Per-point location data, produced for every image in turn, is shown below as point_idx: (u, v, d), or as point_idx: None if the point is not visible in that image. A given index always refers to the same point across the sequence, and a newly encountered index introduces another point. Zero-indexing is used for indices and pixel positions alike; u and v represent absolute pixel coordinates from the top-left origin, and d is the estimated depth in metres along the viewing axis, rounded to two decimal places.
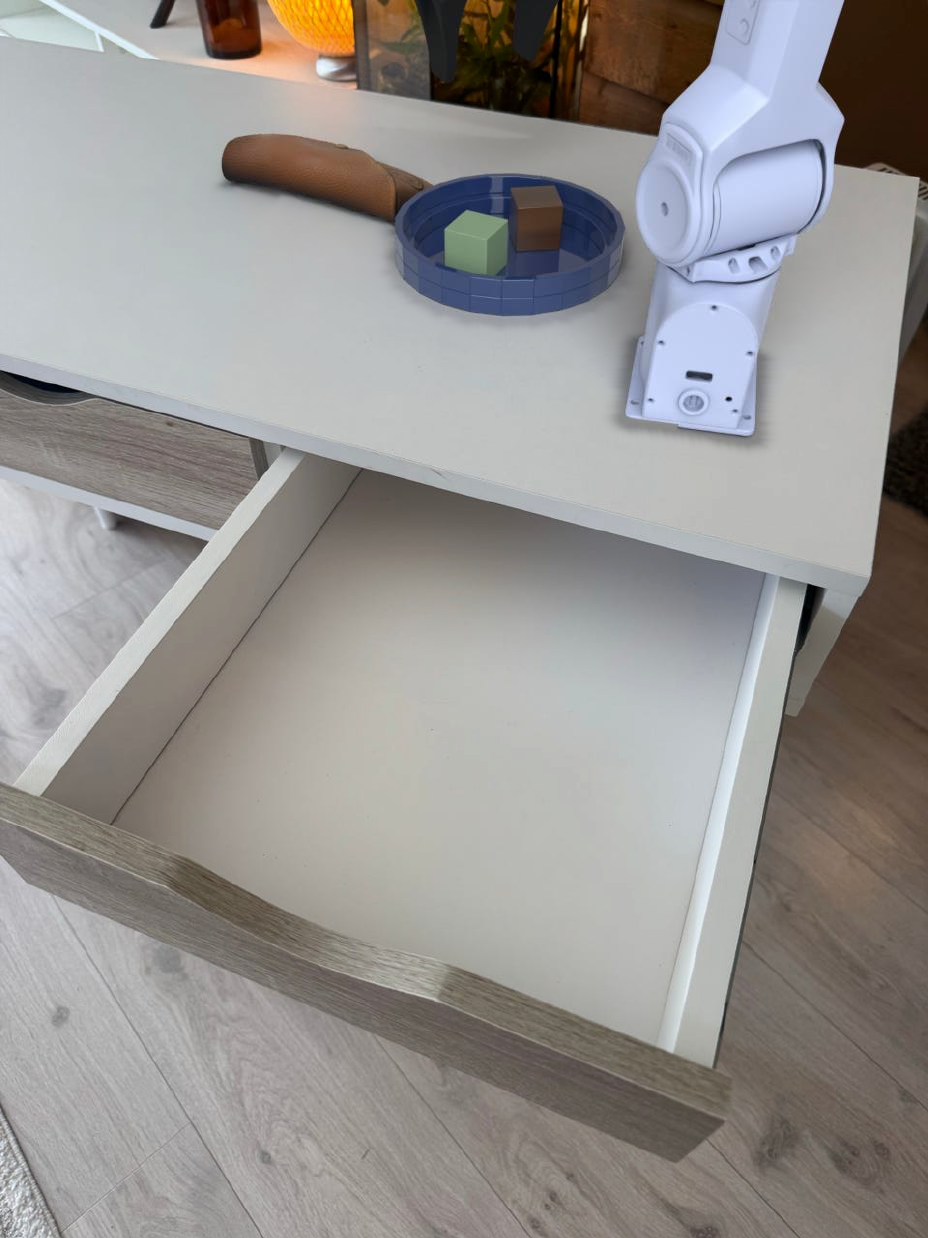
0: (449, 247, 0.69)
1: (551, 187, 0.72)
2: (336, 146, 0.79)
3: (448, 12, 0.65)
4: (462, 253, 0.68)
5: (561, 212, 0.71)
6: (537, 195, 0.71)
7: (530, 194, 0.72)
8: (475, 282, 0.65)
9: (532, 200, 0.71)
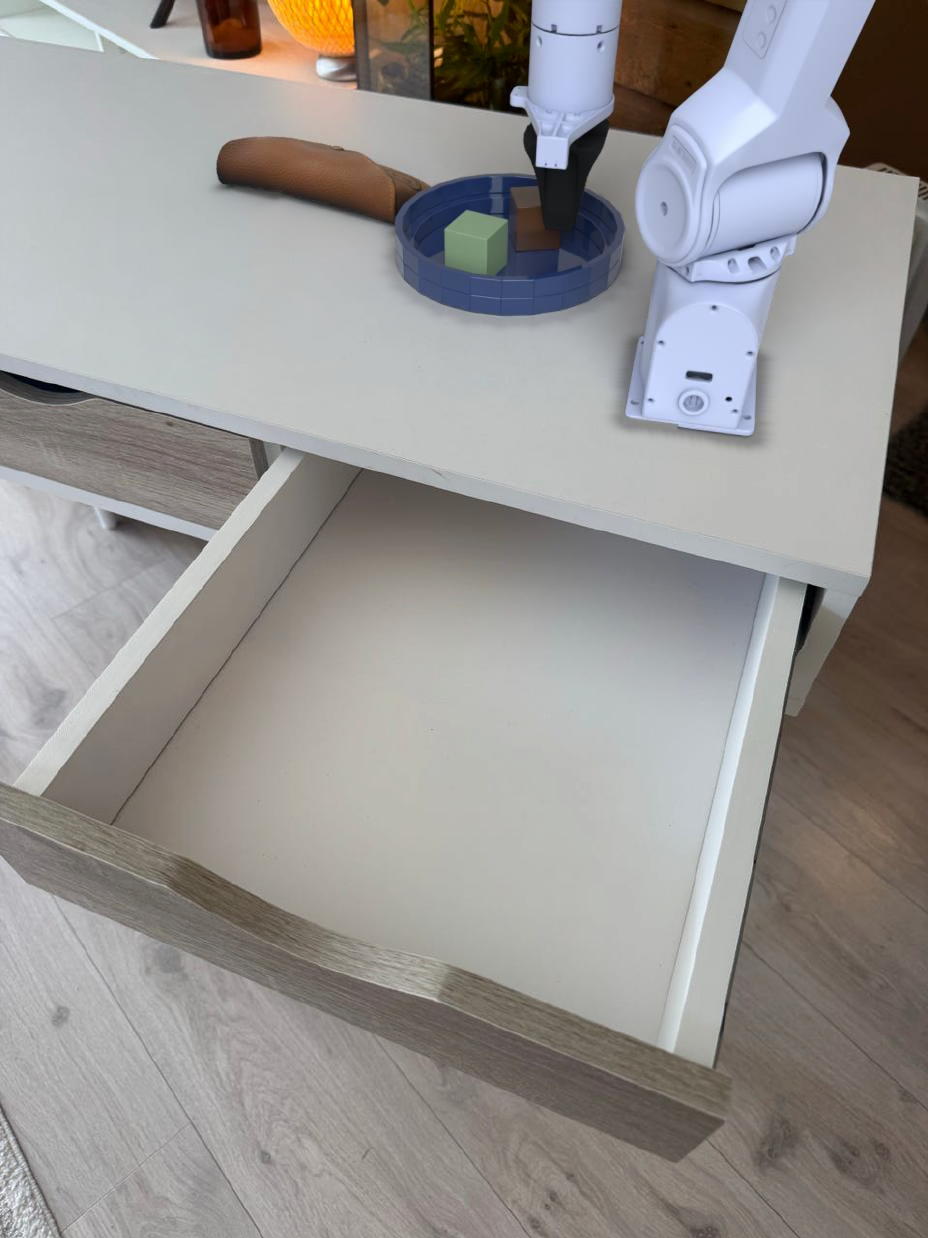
0: (449, 247, 0.69)
1: None
2: (332, 148, 0.79)
3: None
4: (462, 253, 0.68)
5: None
6: (536, 194, 0.71)
7: (529, 193, 0.72)
8: (475, 282, 0.65)
9: (532, 200, 0.71)
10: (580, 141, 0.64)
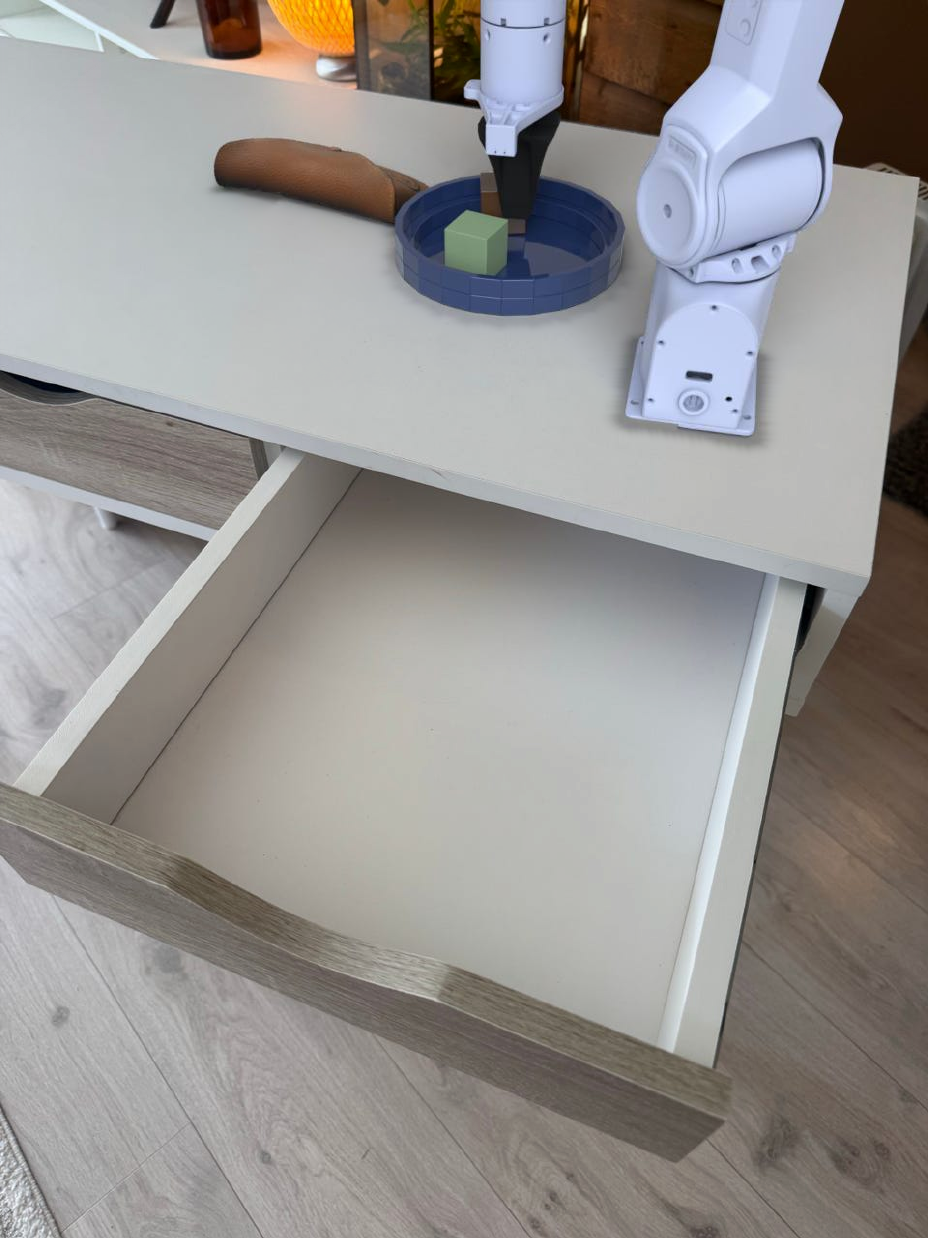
0: (449, 247, 0.69)
1: None
2: (330, 149, 0.79)
3: (545, 152, 0.68)
4: (462, 253, 0.68)
5: None
6: None
7: None
8: (475, 282, 0.65)
9: None
10: (532, 130, 0.67)
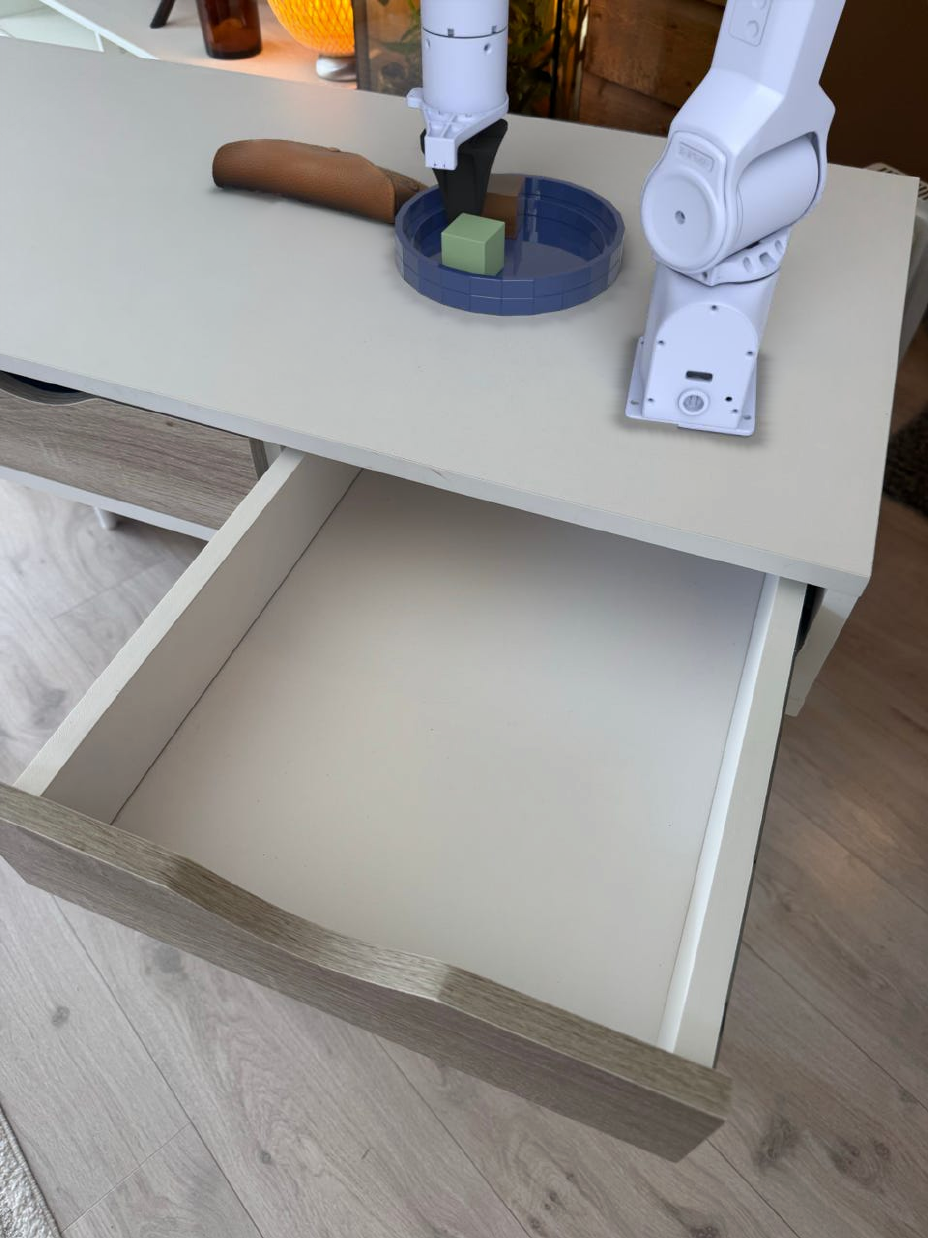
0: (446, 250, 0.68)
1: (520, 177, 0.73)
2: (328, 149, 0.78)
3: (490, 164, 0.66)
4: (459, 257, 0.68)
5: (515, 202, 0.72)
6: (501, 182, 0.73)
7: (495, 180, 0.73)
8: (475, 282, 0.65)
9: (492, 186, 0.72)
10: (475, 142, 0.65)
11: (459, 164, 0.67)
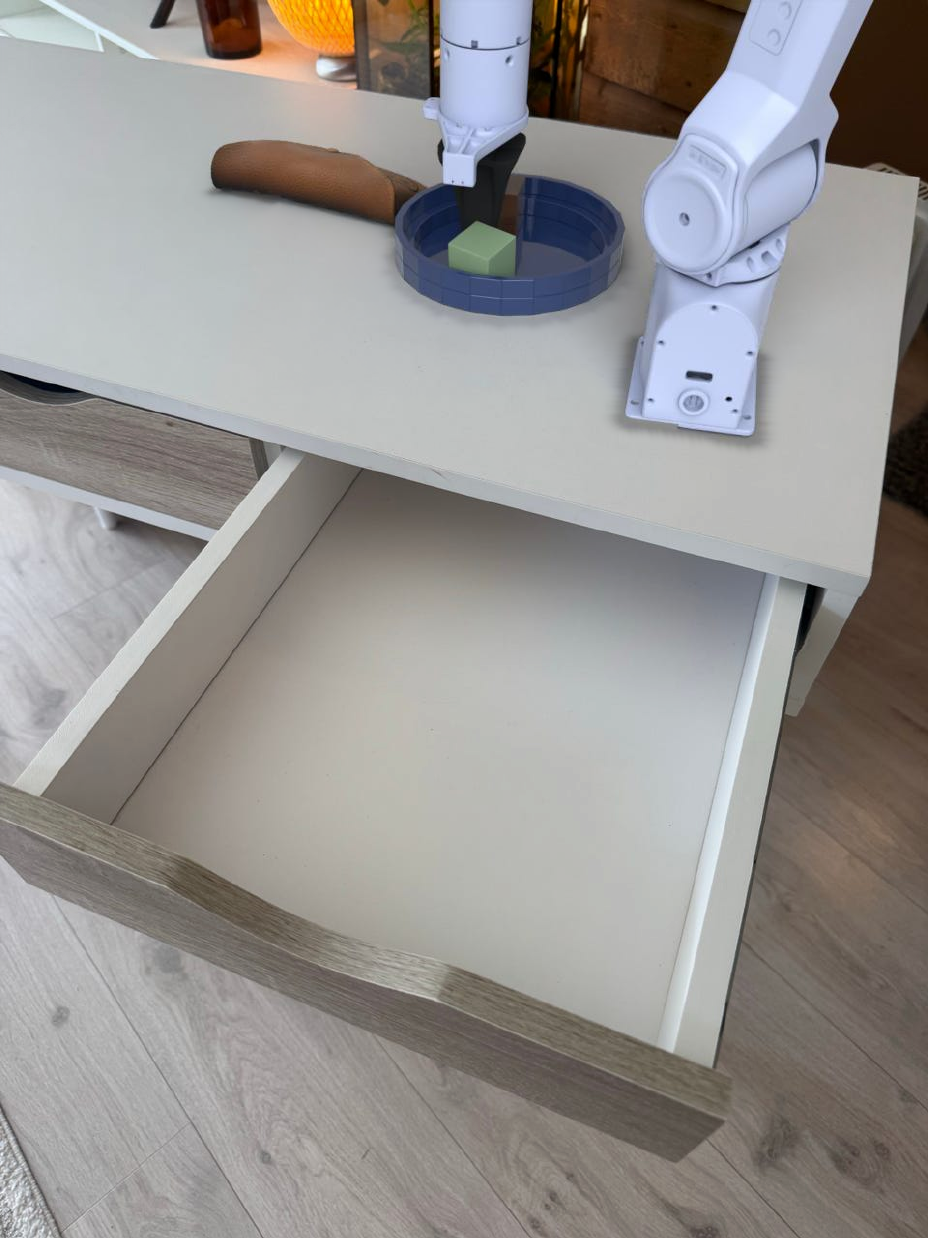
0: (452, 261, 0.67)
1: (520, 177, 0.73)
2: (327, 150, 0.78)
3: None
4: (465, 269, 0.67)
5: (515, 202, 0.72)
6: None
7: None
8: (475, 282, 0.65)
9: None
10: (495, 154, 0.63)
11: (477, 175, 0.65)
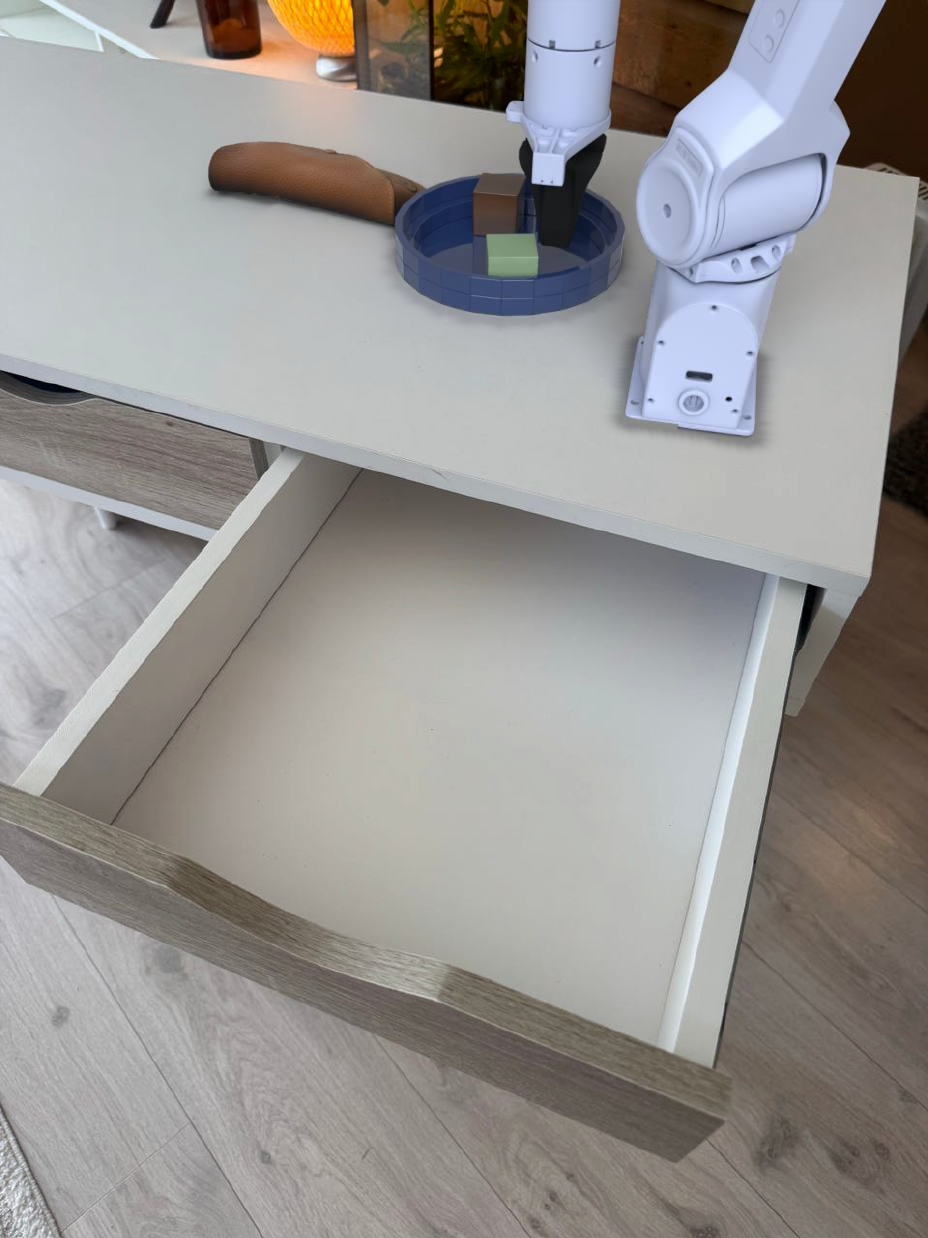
0: (486, 253, 0.68)
1: (520, 177, 0.73)
2: (325, 151, 0.78)
3: None
4: None
5: (515, 202, 0.72)
6: (501, 182, 0.73)
7: (495, 180, 0.73)
8: (475, 282, 0.65)
9: (492, 186, 0.72)
10: (576, 157, 0.63)
11: None
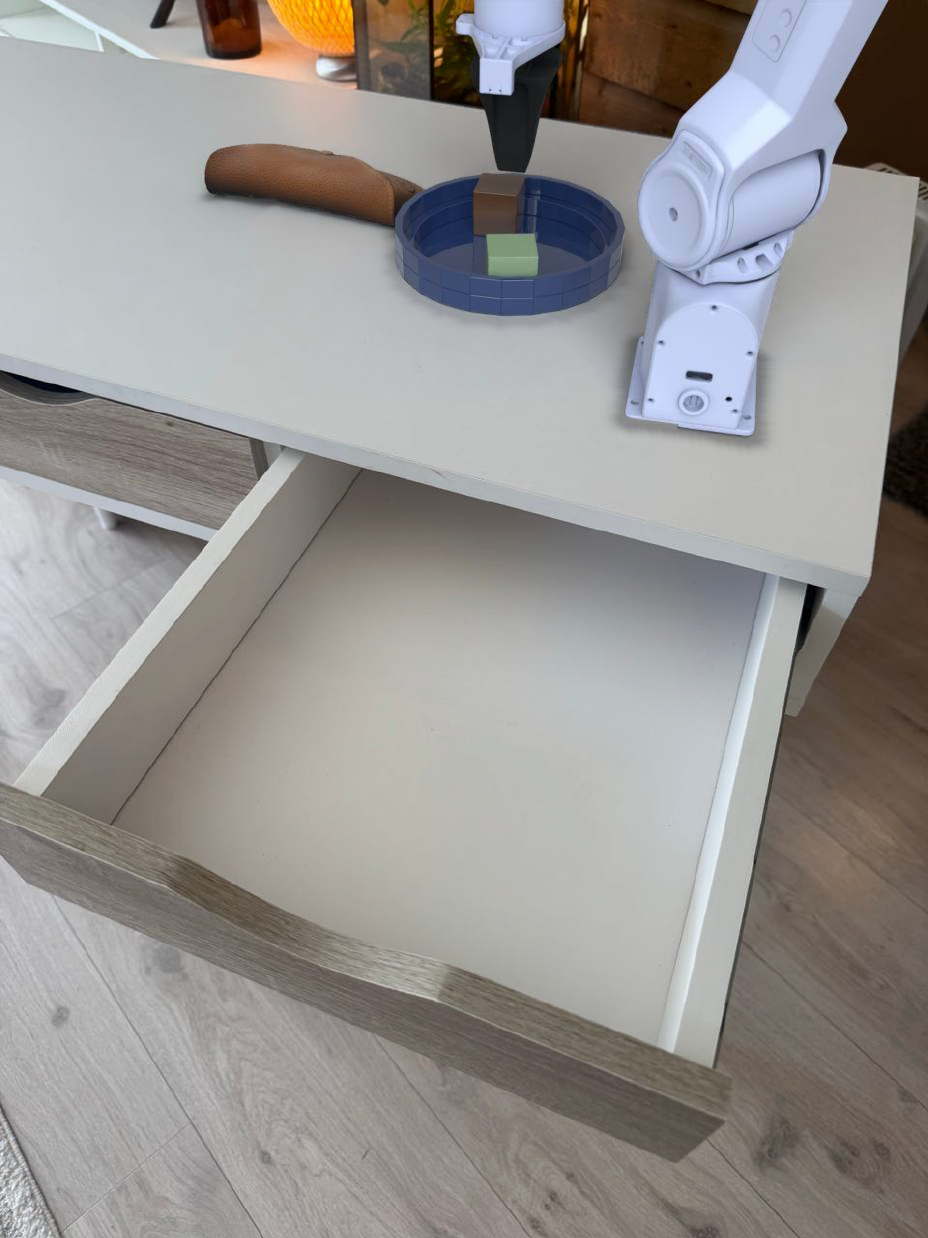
0: (486, 253, 0.68)
1: (520, 177, 0.73)
2: (322, 153, 0.78)
3: None
4: None
5: (515, 202, 0.72)
6: (501, 182, 0.73)
7: (495, 180, 0.73)
8: (475, 282, 0.65)
9: (492, 186, 0.72)
10: (529, 71, 0.61)
11: (510, 97, 0.63)
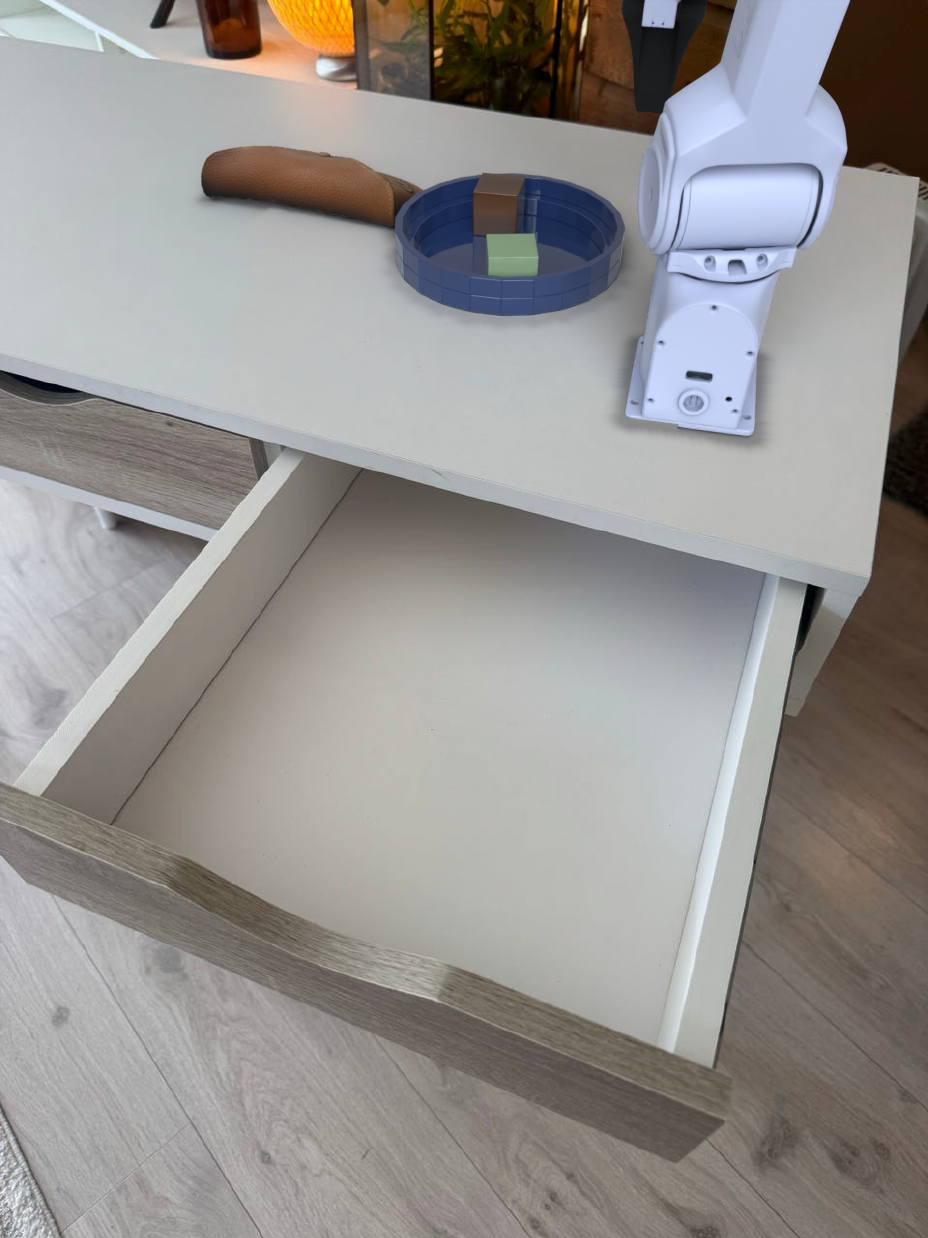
0: (486, 253, 0.68)
1: (520, 177, 0.73)
2: (319, 154, 0.78)
3: None
4: None
5: (515, 202, 0.72)
6: (501, 182, 0.73)
7: (495, 180, 0.73)
8: (475, 282, 0.65)
9: (492, 186, 0.72)
10: (681, 9, 0.62)
11: (657, 36, 0.65)
